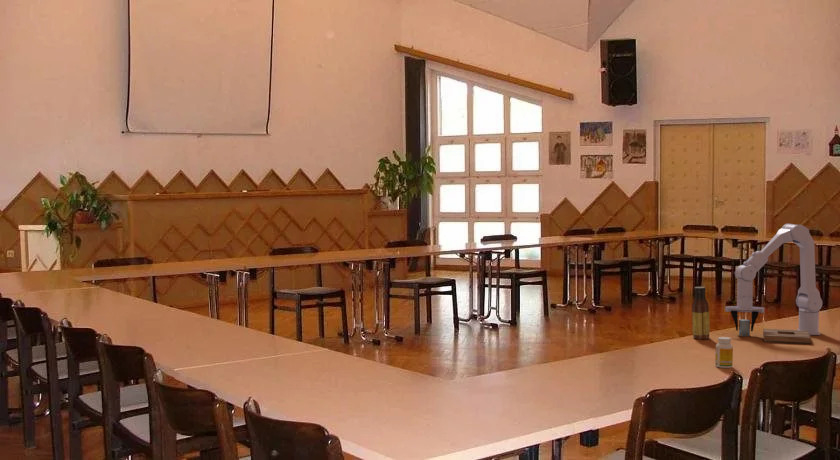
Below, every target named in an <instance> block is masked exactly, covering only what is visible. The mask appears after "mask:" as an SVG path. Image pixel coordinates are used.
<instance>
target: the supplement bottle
mask: <svg viewBox="0 0 840 460" xmlns="http://www.w3.org/2000/svg"><path fill="white" fill-rule="evenodd" d="M717 342H718V343H716V345H715V365H714V366H715V367H717V368H719V369H731V368H733V361H734V360H733V359H734V355H733V353H734V352H733V351H734V346H733V344H732V338H731V337H727V336H720V337H719V336H718V337H717Z"/></svg>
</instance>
